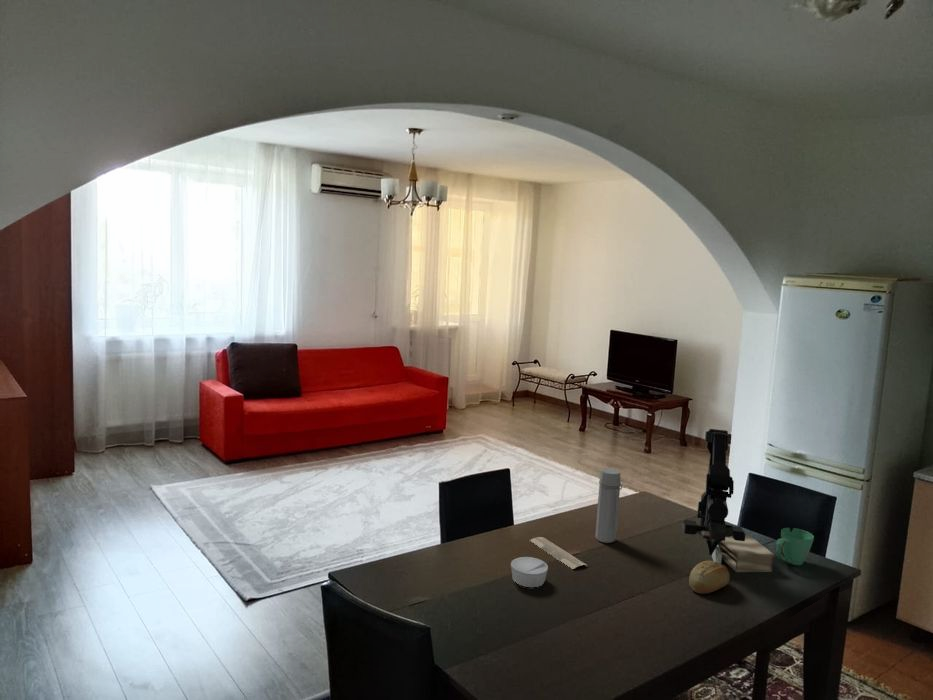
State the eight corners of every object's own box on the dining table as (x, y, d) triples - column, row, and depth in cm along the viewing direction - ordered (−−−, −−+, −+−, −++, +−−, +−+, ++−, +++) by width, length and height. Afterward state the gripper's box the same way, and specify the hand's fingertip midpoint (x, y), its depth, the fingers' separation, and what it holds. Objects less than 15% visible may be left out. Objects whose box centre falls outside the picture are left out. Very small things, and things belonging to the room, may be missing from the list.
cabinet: (714, 551, 227) (715, 535, 226) (747, 551, 228) (748, 535, 227) (736, 572, 212) (738, 554, 211) (771, 571, 213) (773, 554, 213)
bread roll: (737, 587, 202) (739, 562, 201) (710, 601, 192) (712, 575, 191) (708, 575, 209) (710, 551, 208) (681, 588, 200) (683, 563, 199)
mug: (789, 553, 228) (792, 525, 227) (816, 565, 220) (820, 536, 219) (762, 561, 221) (765, 532, 220) (789, 573, 213) (793, 544, 211)
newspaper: (587, 568, 211) (588, 563, 211) (570, 573, 207) (570, 567, 207) (543, 540, 231) (543, 535, 231) (526, 544, 227) (527, 539, 227)
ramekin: (545, 593, 193) (546, 575, 192) (507, 587, 195) (508, 570, 194) (548, 575, 204) (549, 559, 203) (512, 570, 206) (513, 554, 205)
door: (709, 550, 227) (711, 535, 226) (712, 551, 227) (714, 535, 226) (716, 570, 212) (718, 553, 211) (720, 570, 212) (722, 554, 211)
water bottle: (590, 537, 234) (595, 468, 231) (608, 534, 237) (613, 466, 234) (605, 547, 226) (611, 477, 223) (624, 544, 229) (630, 474, 226)
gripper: (689, 514, 208) (684, 561, 210) (752, 522, 205) (745, 570, 207) (684, 502, 219) (679, 547, 221) (744, 510, 216) (738, 555, 218)
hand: (710, 555), depth 216 cm, fingers closed
